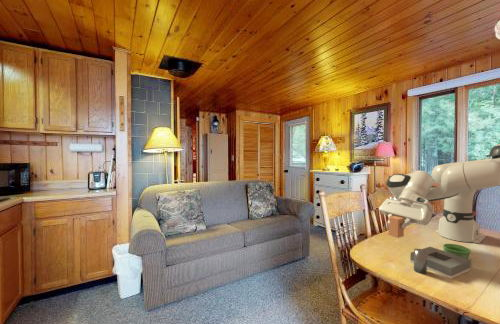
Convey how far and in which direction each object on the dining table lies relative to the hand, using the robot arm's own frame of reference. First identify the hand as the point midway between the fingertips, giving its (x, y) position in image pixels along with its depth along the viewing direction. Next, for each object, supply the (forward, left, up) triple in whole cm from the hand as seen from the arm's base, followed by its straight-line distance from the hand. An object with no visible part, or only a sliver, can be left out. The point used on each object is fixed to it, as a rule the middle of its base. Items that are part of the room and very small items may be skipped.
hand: (395, 225), depth 102 cm
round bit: (+3, +12, -14) cm, 19 cm away
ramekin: (-23, +12, -14) cm, 29 cm away
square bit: (-1, 0, -4) cm, 4 cm away
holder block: (-8, +13, -14) cm, 20 cm away
